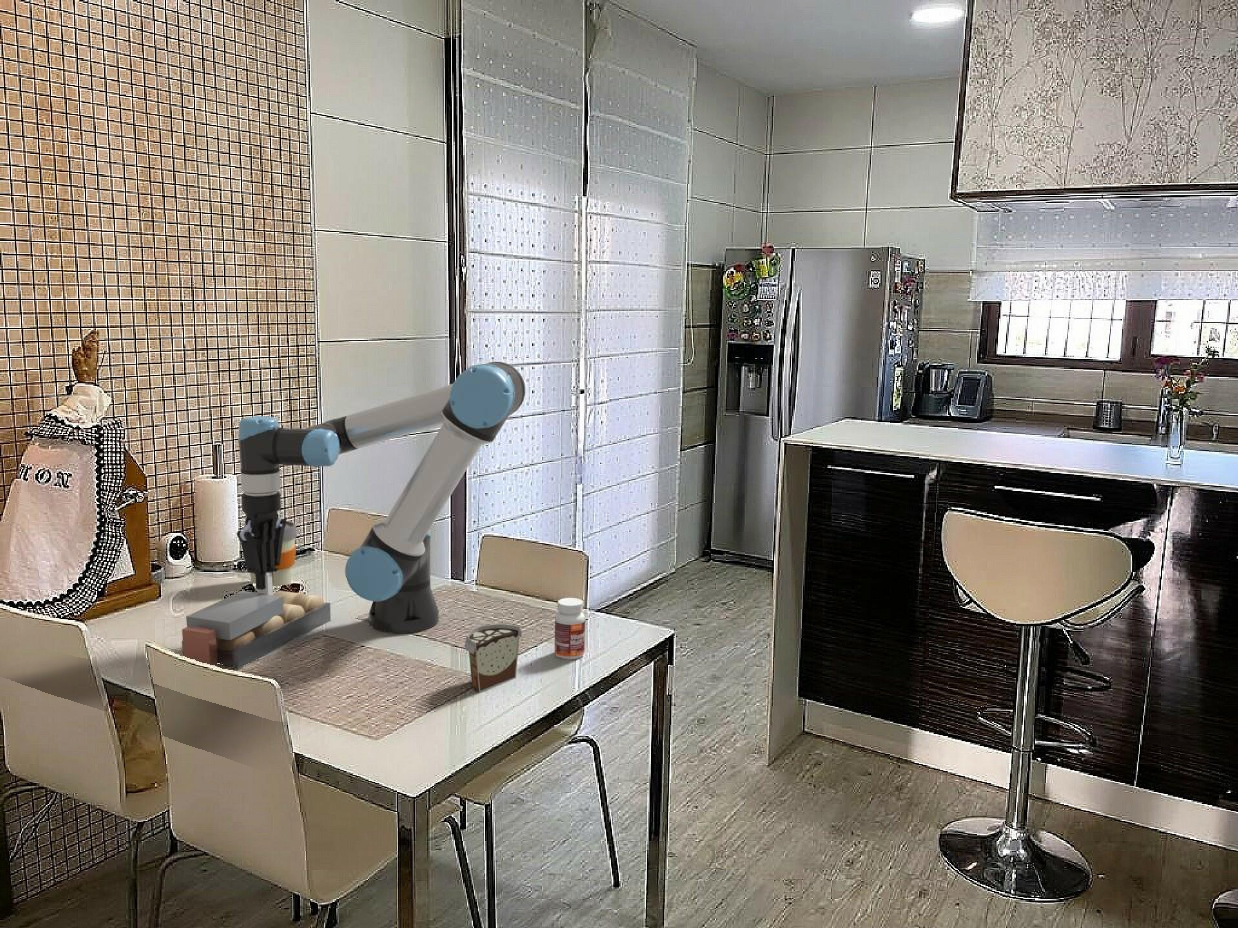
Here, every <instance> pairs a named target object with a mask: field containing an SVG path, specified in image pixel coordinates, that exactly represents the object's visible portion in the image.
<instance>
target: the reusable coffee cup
mask: <svg viewBox="0 0 1238 928" xmlns="http://www.w3.org/2000/svg"><path fill="white" fill-rule="evenodd" d="M286 521H287V523H286V526H285V529H284V534H283V543H282V552H281V560H280V565H279V566H276V567H275V568H278V570H277V571H276V572H274V571H273V586H281V585H287V584H290V585H291V584H292V575H293V566H294V565H295V562H296V555H297V554H296V552H297V551H296V550H297V546H296V545H295V544H296V538H297V536H298V533H297V532H298V531H297V528H296V527H297V526H296V523H295V522H293V521H289V520H286ZM244 528H245V525H243V527H242V530H243V529H244ZM249 574H250V580H251V584H252V583H256V576H255V574H254V573H249Z"/></svg>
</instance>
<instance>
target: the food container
mask: <svg viewBox="0 0 1238 928" xmlns="http://www.w3.org/2000/svg"><path fill="white" fill-rule="evenodd" d="M520 637H523V634H522V629H521V626H519V625H514V624H506V623H504V624H503V623H499V624H498V623H495V624H487V625H481V626H478V627H475V628H472V629H471V630H470V631H469V632H468V633H467V636H466V638H465V643H464V648H465V650H466V651H467V652H468V657H469V666H470V667H469V668H470V669H469V670H470V679H471V680H470V681H471V687H472V689H473V690H474V692H476V693H478V694H480V693H483V692H485V691H488V690H490V689H492V688H495V687H497V686H500V685H502V684H505V683H507V682H509V681H512V680H515V679H516V678H517V670H518V669H517V668H518V659H519V658H518V656H519V646H520Z"/></svg>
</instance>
